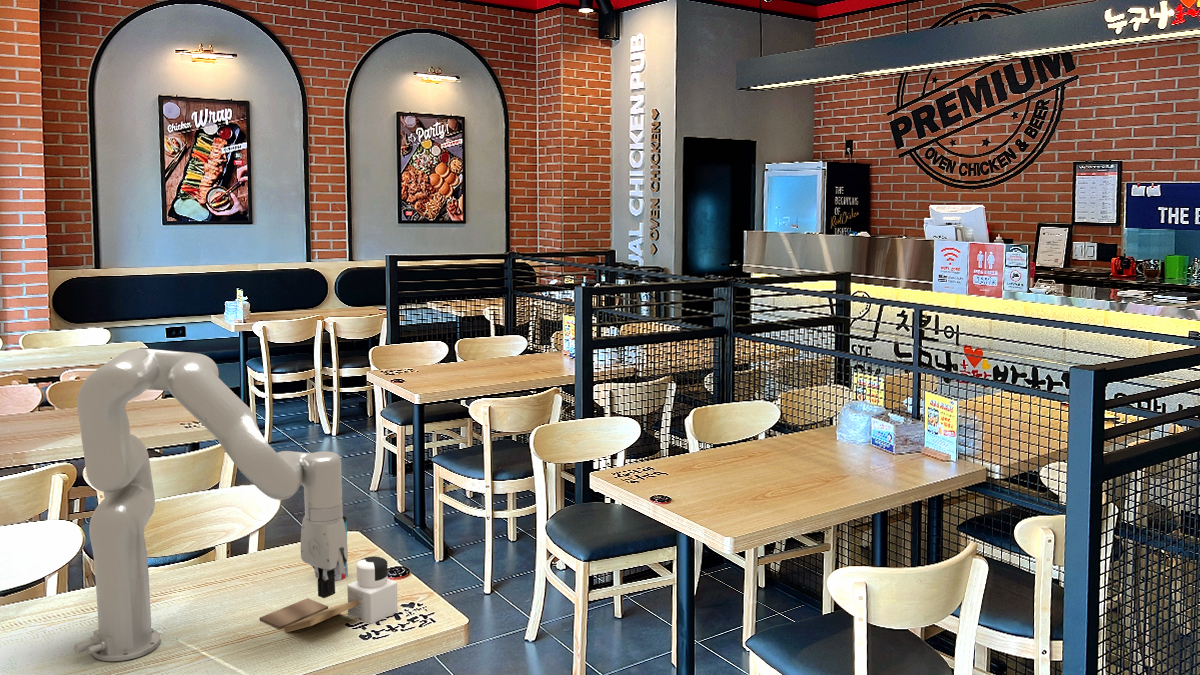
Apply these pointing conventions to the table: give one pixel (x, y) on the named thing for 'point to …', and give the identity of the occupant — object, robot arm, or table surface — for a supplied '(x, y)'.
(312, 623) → the oak plank
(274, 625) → the laid walnut plank
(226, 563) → the table surface
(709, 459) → the table surface
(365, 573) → the container
